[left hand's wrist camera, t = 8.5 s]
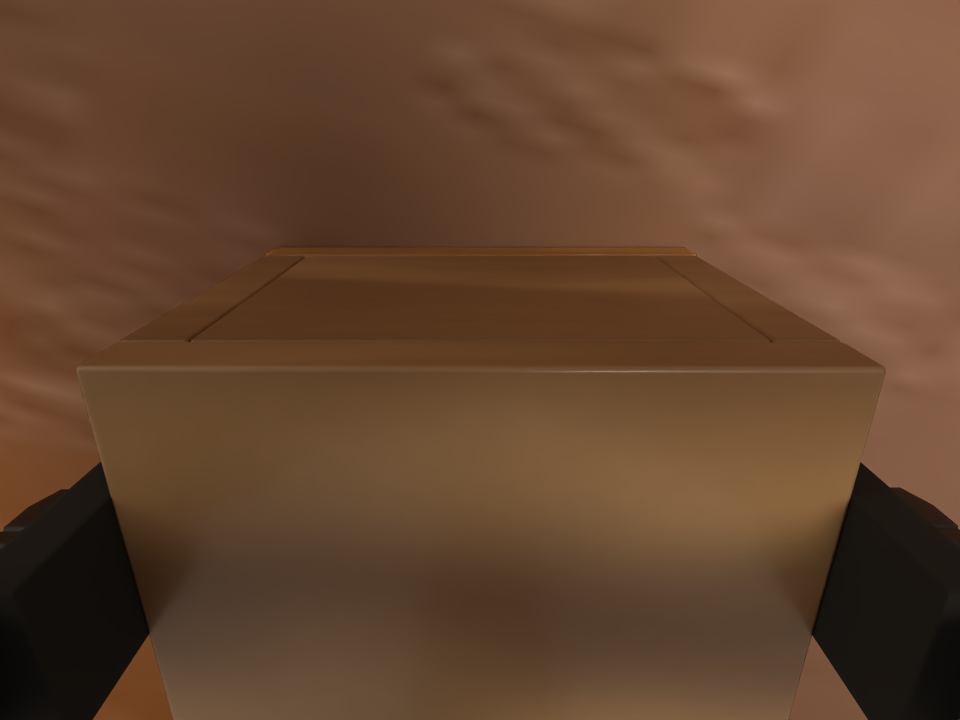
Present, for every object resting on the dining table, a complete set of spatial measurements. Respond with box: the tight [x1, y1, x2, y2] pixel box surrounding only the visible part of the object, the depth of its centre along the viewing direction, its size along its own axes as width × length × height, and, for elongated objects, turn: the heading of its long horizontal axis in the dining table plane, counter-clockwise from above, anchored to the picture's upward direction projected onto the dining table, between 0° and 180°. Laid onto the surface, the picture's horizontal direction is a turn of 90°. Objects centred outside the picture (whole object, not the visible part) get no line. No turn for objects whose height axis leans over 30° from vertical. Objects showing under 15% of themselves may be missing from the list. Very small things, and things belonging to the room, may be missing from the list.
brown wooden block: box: [76, 247, 885, 720], centre depth 15 cm, size 20×11×8 cm, turn 0°
